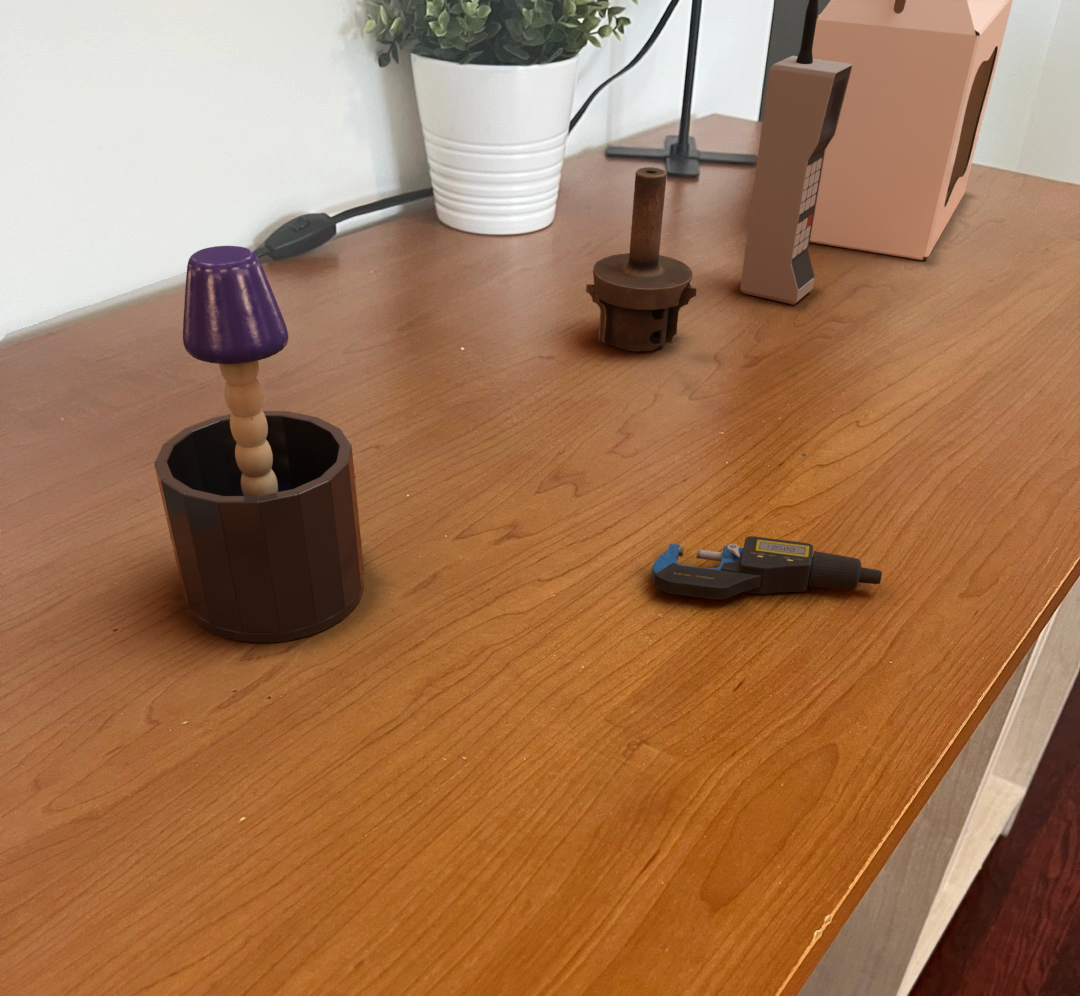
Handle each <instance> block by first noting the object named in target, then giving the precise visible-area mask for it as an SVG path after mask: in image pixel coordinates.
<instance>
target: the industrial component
mask: <svg viewBox="0 0 1080 996" xmlns="http://www.w3.org/2000/svg"><path fill="white" fill-rule="evenodd" d="M667 176H668V175H667V171H666V170H664V169H662V168H659V167H653V166H647V167H640V168H637V170H635V177H634V190H633V199H632V201H633V202H632V203H633V204H632V214H631V215H632V216H631V228H630V240H629V252H625V253H619V254H618V253H617V254H613V255H609V256H606V257H603V258H601V259H599V260H598V261H596V262H595V263H594V265H593V268H592V275H593V284H590V283H586V285H585V292H586V293H587V294H588V295H590V297H591V301H592V302H593V303H594V304H596V305H597V306H598V308H599V312H600V313H599V326H598V327H599V328H598V342H602V343H603V344H605V345H610V346H613V347H615V348H618V349H621V350H624V351H631V352H652V351H655V350H657V349H660V348H664V347H665V346H666V341H669V342H671V341H673V339H674V336H676V335H677V333H678V321H679V312H680V309H681V308H682V307H685V306H687V305H689V302H690V300H691V299H693V298H696V296H697V289H698V288H697V287H693V286H692V285H691V281H692V280H693V270H692V268H690V266H688V265H687V264H686V263H684V262H683V261H681V260H678V259H676V258H673V257H670V256H665V255H661V254H660V248H661V237H662V228H663V217H664V206H665V198H666V186H667Z"/></svg>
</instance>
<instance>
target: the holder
mask: <svg viewBox="0 0 1080 996" xmlns="http://www.w3.org/2000/svg"><path fill="white" fill-rule="evenodd" d="M262 411H263V413H264V415H265V417H266V420H267V425H268V434H267V437H266V440H267V441H268V443H269V445H270V447H271V450H272V455H273V463H272V467H271V469H272V470H273V472H274V473H275V475H276V478H277V483H278V492H276V493H271V494H266V495H261V496H244V494H243V492H242V488H241V475H242V472H241V471H240V469H239V467H238V465H237V462H236V458H235V447H236V444H237V442H236V441H235V439H234V438H233V435H232V432H231V428H230V417H231V414H232V413H230V414H224V415H217V416H214V417H211V418H207V419H206V420H203V421H200V422H198V423H195V424H192V425H189V426H187V427H184V428H183V429H181V430H180V431H179V432H177V433H176V434H175V435H173V436H172V437H170V438H169V439H168V440H166V441H165V442H164V443H163V444H162V445H161V447H160V449H159V451H158V453H157V456H156V458H155V460H154V463H153V466H154V470H155V474H156V480H157V484H158V487H159V488H158V489H159V493H160V497H161V502H162V505H163V510H164V514H165V519H166V523H167V527H168V532H169V537H170V540H171V546H172V550H173V553H174V558H175V564H176V567H177V572H178V575H179V580H180V584H181V589H182V592H183V595H184V598H185V601H186V606H187V609H188V612H189V613H190V615H191V617H192V618H193V620H195V622H196V623H197V624H198V625H200V626H201V627H202V628H203V629H205V630H207V631H209V632H210V633H212V634H215V635H217V636H219V637H223V638H226V639H229V640H233V641H238V642H243V643H244V642H245V643H257V644H258V643H261V644H267V643H269V644H270V643H280V642H281V643H282V642H289V641H294V640H299V639H302V638H306V637H310V636H312V635H315V634H318V633H321V632H323V631H325V630H327V629H329V628H331V627H333V626H335V625H337V624H338V623H340V622H341V621H343V620H344V619H345V618H346V617H348V616H349V615H350V614H351V613H352V612H353V611H354V610H355V608H356V607H357V606H358V604H359V603H360V601H361V599H362V597H363V594H364V590H365V581H364V579H365V578H364V573H365V569H364V567H365V565H364V556H363V546H362V538H361V537H362V535H361V527H360V526H361V525H360V515H359V506H358V505H359V504H358V495H357V486H356V475H355V465H354V455H353V446H352V443H351V442H350V440H349V439H348V437H347V436H346V435H345V433H344V432H343V430H342V429H341V428H340V427H338V426H336V425H334V424H332V423H330V422H328V421H326V420H324V419H322V418H321V417H317V416H313V415H309V414H303V413H300V412H299V413H298V412H293V411H289V410H262Z"/></svg>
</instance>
